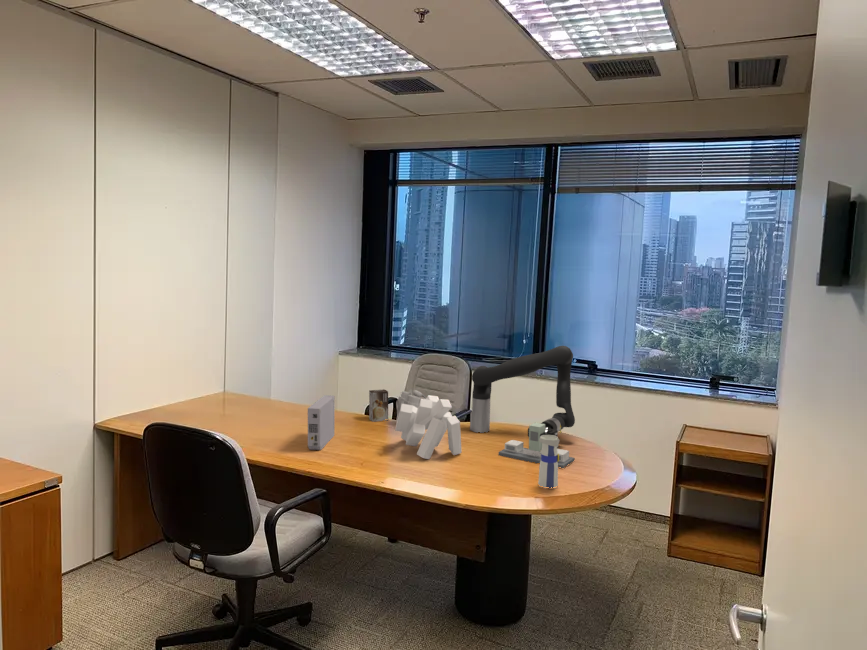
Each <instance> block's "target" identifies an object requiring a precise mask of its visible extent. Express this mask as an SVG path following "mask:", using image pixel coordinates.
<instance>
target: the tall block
mask: <svg viewBox="0 0 867 650" xmlns="http://www.w3.org/2000/svg"><path fill="white" fill-rule="evenodd" d="M541 423H542V422H533V423H531V424H529V426H528V428H529V437H528V449H529V450H533V451H541V450H542V443H541V442H540V441H539V439H540V434H542V433H544V432H545V424H541Z"/></svg>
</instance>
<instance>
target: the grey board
mask: <svg viewBox="0 0 867 650" xmlns="http://www.w3.org/2000/svg"><path fill="white" fill-rule="evenodd" d="M523 448H524V449H529V447H528V448H526V447H523ZM504 449H505V448H503V449H502V450H499V451H498V454H497V455H498V456H501V457H505V458H509V459H514V460H518V459H519V460H518V461H523V460H524V462H528V461H529V463H532V462H535V463H534V464H537V463H540V461H541V458H536V457H531V456H526V455H521V454H516V453H512V452H507V451H504ZM539 452H540V451H539ZM569 458H570V459H569V460H568V461H567V462H565V463H560V462H558V467H561V468H564V467H565V466H567V465H568V464H570V463H571V462H573V461H574V460H576V459H575V457H572V456H569ZM574 462H575V461H574ZM574 462H573V463H574ZM571 464H572V463H571ZM571 464H570V465H571ZM568 466H569V465H568ZM568 466H567V467H568ZM565 468H566V467H565ZM565 468H564V469H565Z"/></svg>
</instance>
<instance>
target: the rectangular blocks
mask: <svg viewBox="0 0 867 650" xmlns="http://www.w3.org/2000/svg"><path fill="white" fill-rule="evenodd" d="M523 448H524V441H519V440H515V439H511V440H509V441H506V442H505V443H504V449H505V450H508V451H513V452H518V451H520V450H521V449H523ZM557 451H558V453H559V461H562V462H563V461H565V460H566V459H568V458H569V457H570V450H567V449H562V448H561V449H560V448H557Z"/></svg>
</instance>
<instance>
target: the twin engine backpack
mask: <svg viewBox="0 0 867 650" xmlns="http://www.w3.org/2000/svg"><path fill="white" fill-rule="evenodd" d="M421 397H423V399H426V398H427V396H426V395H425V394H423V393H422V392H421V391H419V390H417V389H414V390H413V389H409V391H406V390H404V391H401V392H400V396H398V399H397V400H396V404H395V406H396V420H397V419H398V415H399V412H400V408H401V404H407V405H413V406H415V407H416V408H418V407H419V403H420V400H421V399H422V398H421Z"/></svg>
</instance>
